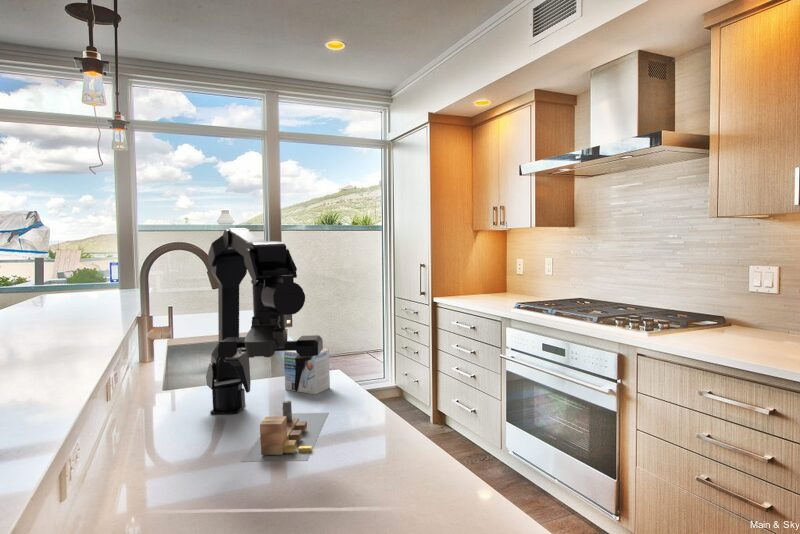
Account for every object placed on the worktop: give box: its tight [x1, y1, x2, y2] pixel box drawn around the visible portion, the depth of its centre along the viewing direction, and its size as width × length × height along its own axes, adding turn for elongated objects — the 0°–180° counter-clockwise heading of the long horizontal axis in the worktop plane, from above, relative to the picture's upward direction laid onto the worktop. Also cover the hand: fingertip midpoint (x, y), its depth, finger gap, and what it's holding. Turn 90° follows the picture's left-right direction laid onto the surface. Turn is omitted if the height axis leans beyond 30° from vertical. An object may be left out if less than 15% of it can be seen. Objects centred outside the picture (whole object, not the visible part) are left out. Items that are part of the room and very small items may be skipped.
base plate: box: [241, 412, 330, 463], centre depth 104 cm, size 12×25×1 cm, turn 179°
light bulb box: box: [283, 348, 331, 395], centre depth 137 cm, size 11×7×11 cm, turn 62°
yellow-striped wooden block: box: [259, 415, 287, 445], centre depth 95 cm, size 4×4×4 cm
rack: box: [261, 400, 307, 455], centre depth 100 cm, size 6×14×6 cm, turn 179°
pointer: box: [298, 446, 313, 453], centre depth 96 cm, size 2×1×1 cm, turn 89°
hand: (272, 391), depth 95 cm, fingers open, 9 cm apart
